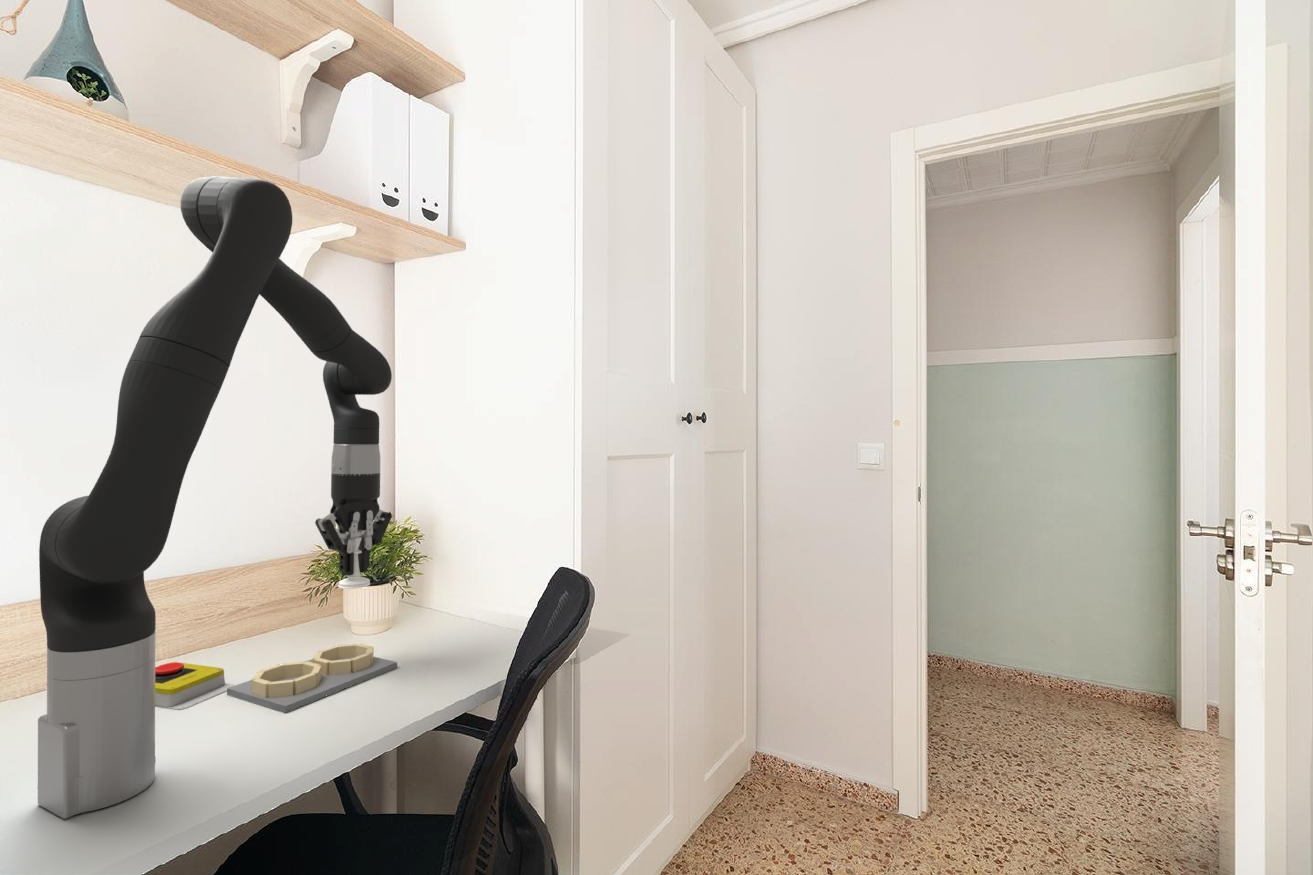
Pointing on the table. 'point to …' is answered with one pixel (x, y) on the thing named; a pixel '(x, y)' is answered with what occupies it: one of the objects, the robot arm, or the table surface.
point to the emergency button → (187, 684)
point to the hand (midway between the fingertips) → (354, 572)
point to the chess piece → (355, 571)
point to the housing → (312, 677)
